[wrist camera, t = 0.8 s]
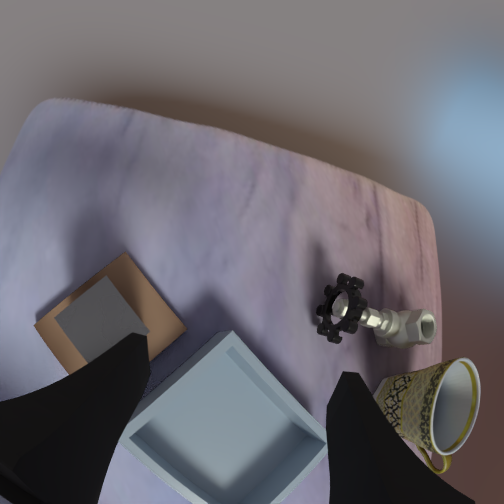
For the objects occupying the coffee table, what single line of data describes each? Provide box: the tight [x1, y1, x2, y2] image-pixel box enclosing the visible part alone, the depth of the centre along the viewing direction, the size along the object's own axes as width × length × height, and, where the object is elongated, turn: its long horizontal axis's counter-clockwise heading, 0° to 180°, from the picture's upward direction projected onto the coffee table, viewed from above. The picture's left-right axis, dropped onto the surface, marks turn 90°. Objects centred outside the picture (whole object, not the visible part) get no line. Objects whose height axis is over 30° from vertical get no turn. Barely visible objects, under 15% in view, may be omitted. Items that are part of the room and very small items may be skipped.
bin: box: [118, 331, 328, 504], centre depth 22 cm, size 12×14×4 cm
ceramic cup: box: [373, 357, 480, 474], centre depth 26 cm, size 13×10×10 cm
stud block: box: [34, 252, 187, 375], centre depth 21 cm, size 10×8×4 cm
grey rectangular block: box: [54, 275, 150, 363], centre depth 19 cm, size 4×4×6 cm
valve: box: [316, 273, 437, 349], centre depth 29 cm, size 7×7×12 cm
